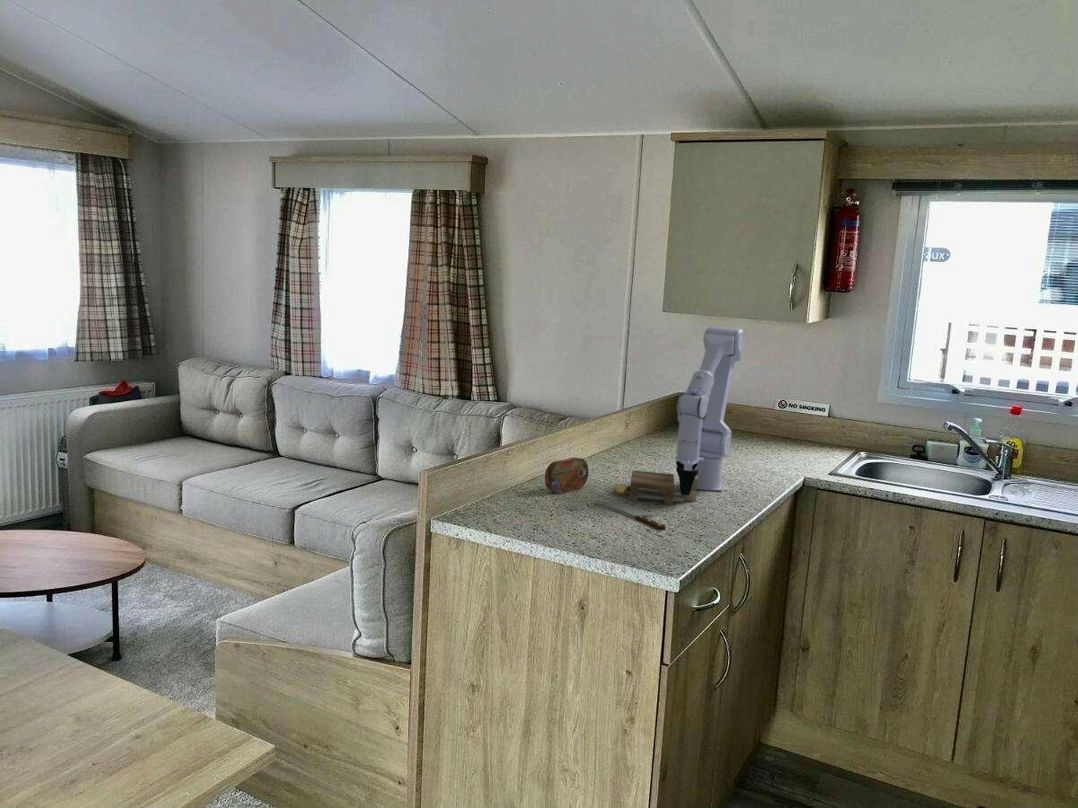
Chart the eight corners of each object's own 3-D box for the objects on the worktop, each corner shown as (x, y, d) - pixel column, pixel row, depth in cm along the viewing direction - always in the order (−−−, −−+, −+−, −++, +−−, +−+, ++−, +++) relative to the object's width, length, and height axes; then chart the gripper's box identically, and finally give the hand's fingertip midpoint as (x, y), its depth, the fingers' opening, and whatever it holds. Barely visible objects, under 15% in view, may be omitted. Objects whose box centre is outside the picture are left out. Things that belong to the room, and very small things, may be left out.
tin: (550, 496, 228) (552, 463, 226) (541, 493, 230) (543, 461, 229) (588, 487, 239) (590, 456, 237) (579, 485, 241) (581, 454, 240)
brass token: (613, 490, 238) (614, 483, 237) (632, 492, 237) (632, 485, 237) (612, 495, 233) (612, 487, 232) (631, 497, 232) (631, 489, 232)
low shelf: (631, 487, 241) (632, 470, 241) (672, 491, 240) (673, 474, 239) (629, 500, 228) (630, 482, 227) (672, 504, 226) (674, 486, 226)
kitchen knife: (687, 524, 208) (653, 527, 202) (686, 529, 208) (652, 531, 203) (624, 499, 228) (592, 500, 223) (624, 503, 228) (592, 504, 223)
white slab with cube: (632, 491, 237) (634, 469, 236) (695, 497, 235) (697, 474, 234) (631, 497, 232) (633, 474, 231) (696, 503, 229) (698, 480, 228)
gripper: (706, 447, 223) (701, 500, 225) (703, 436, 237) (699, 486, 239) (677, 445, 224) (673, 497, 226) (676, 434, 238) (672, 484, 240)
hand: (684, 491), depth 232 cm, fingers open, 6 cm apart
